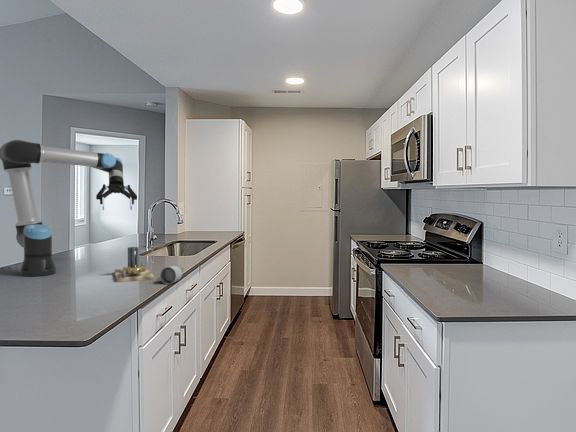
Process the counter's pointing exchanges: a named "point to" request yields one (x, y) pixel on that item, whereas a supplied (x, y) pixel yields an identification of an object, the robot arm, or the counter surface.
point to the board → (123, 276)
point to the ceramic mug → (170, 274)
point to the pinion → (133, 256)
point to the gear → (134, 269)
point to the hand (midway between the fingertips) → (117, 208)
